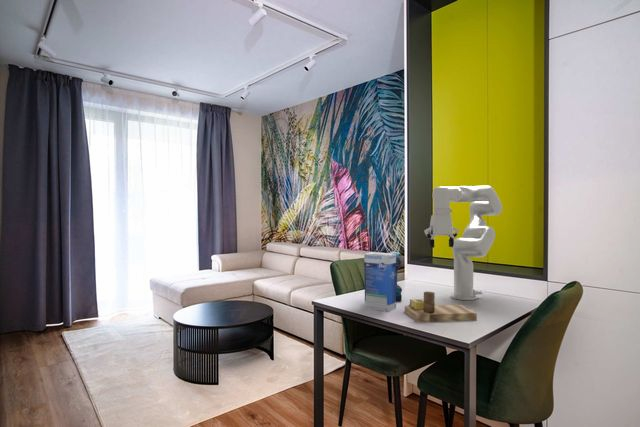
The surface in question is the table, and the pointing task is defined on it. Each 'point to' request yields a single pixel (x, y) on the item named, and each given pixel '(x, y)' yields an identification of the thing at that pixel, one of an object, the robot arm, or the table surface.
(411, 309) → the wooden pallet
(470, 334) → the table surface
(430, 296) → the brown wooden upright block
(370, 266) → the string lights box
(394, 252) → the impact wrench
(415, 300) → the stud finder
